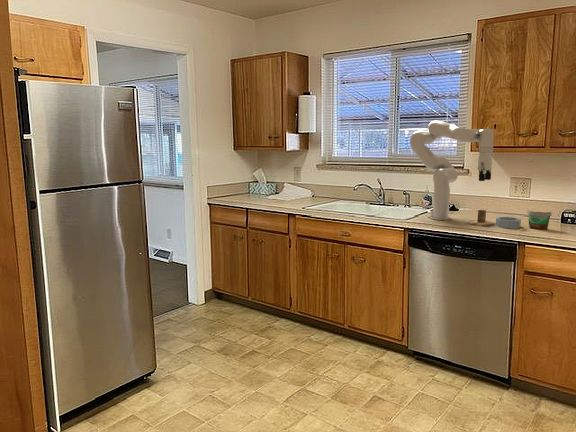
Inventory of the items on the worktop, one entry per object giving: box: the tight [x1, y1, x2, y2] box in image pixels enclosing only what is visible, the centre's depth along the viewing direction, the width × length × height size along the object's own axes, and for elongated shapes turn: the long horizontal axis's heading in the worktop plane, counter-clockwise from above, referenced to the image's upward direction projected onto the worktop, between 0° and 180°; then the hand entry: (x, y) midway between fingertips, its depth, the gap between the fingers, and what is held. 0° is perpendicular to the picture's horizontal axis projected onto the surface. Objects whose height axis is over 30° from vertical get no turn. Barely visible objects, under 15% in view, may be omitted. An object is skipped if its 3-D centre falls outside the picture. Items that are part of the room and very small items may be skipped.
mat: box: [463, 221, 496, 228], centre depth 277 cm, size 15×15×1 cm
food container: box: [527, 209, 553, 231], centre depth 263 cm, size 12×6×10 cm, turn 56°
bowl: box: [495, 216, 522, 229], centre depth 269 cm, size 12×12×5 cm
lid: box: [468, 209, 495, 227], centre depth 276 cm, size 14×14×8 cm
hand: (484, 180), depth 273 cm, fingers open, 9 cm apart
